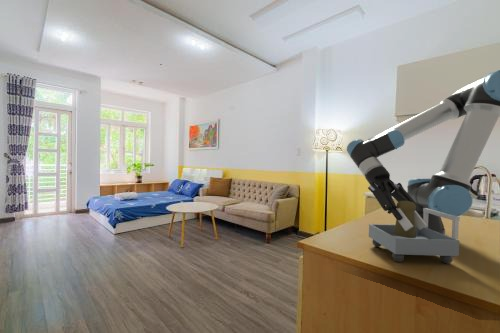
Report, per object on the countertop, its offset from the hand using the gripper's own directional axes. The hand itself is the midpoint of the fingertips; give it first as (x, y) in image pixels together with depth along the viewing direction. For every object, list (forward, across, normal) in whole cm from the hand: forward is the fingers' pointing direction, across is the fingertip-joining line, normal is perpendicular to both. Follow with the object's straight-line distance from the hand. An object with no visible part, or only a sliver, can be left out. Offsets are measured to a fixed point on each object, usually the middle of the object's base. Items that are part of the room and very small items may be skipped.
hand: (416, 228), depth 72 cm
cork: (0, 0, -5) cm, 5 cm away
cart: (+5, -1, -9) cm, 10 cm away
